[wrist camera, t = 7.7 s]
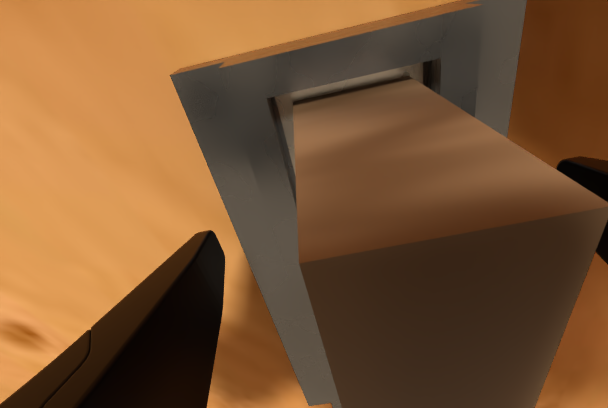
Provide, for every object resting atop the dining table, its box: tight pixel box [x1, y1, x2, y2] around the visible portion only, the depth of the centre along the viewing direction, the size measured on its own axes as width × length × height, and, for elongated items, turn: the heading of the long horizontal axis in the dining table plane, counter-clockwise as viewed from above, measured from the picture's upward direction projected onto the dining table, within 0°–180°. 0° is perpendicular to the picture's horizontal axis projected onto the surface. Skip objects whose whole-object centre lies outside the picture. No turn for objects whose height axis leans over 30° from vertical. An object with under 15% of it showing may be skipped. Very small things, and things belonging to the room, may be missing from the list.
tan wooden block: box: [293, 76, 608, 408], centre depth 8 cm, size 4×6×7 cm, turn 12°
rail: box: [170, 0, 527, 408], centre depth 12 cm, size 10×20×8 cm, turn 12°
